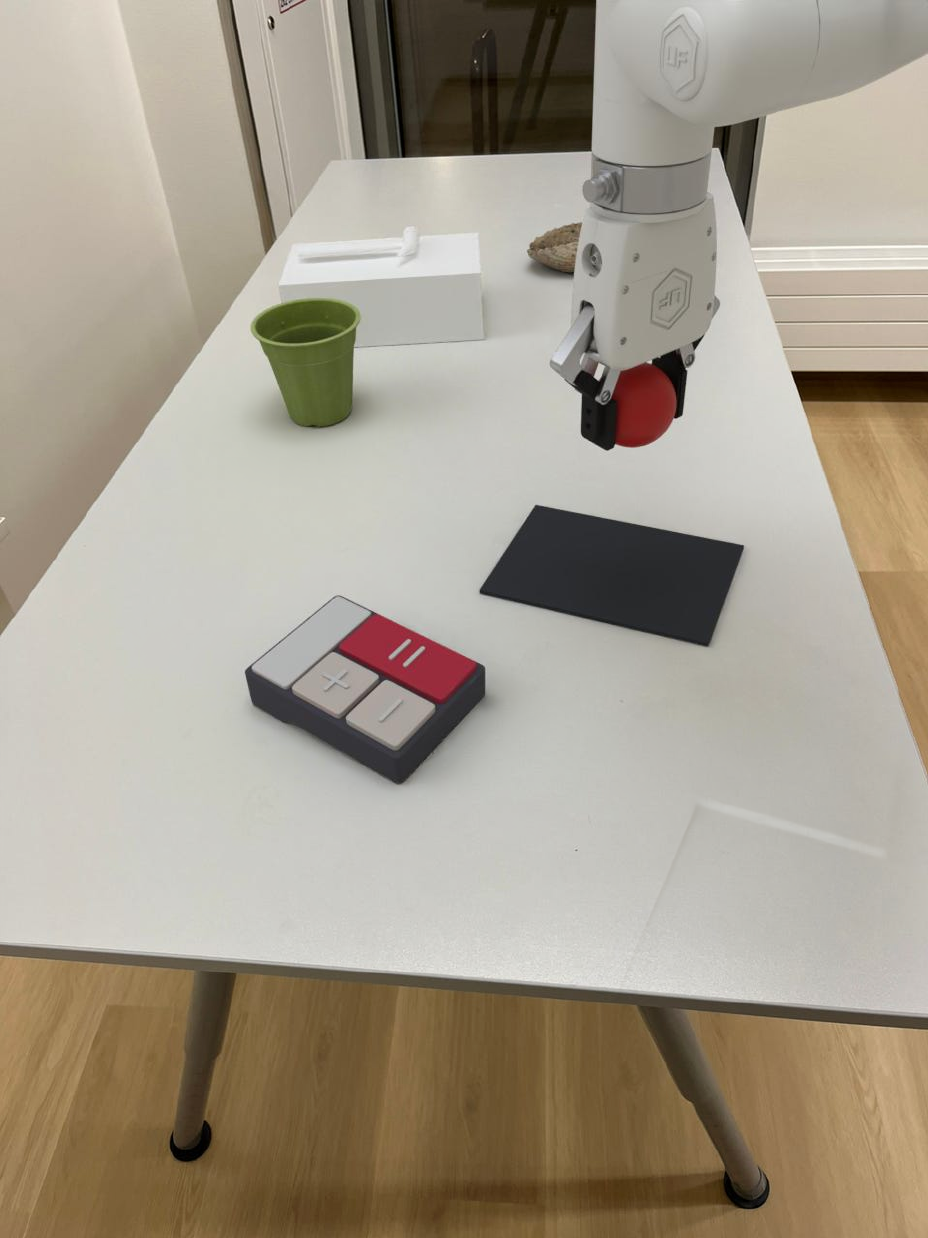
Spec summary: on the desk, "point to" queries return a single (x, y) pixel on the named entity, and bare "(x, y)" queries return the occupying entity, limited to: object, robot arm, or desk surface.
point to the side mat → (617, 573)
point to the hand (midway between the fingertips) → (632, 424)
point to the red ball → (643, 405)
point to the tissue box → (395, 285)
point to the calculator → (366, 686)
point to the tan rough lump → (557, 247)
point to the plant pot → (311, 356)
